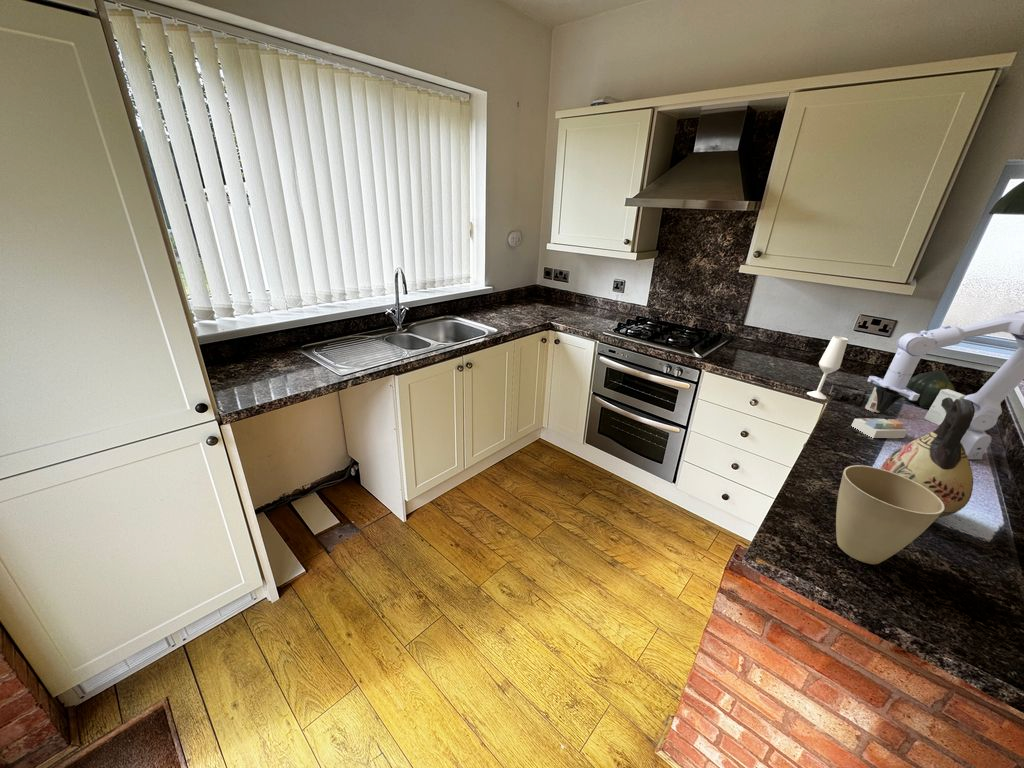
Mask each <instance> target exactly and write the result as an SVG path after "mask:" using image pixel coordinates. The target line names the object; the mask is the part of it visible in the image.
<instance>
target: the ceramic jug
mask: <svg viewBox="0 0 1024 768" xmlns="http://www.w3.org/2000/svg"><path fill="white" fill-rule="evenodd" d="M941 406H942V407H943V408H944V409H945V411H946V416H945V418H944V420H943V422H942V423H941V424H940V425H938V426H937V428H936V429H935V430H932V431H931V432H929V433H927V434H925V435H923V436H920V437H918V438H916V439H914V440H912V441H910V442H908V443H907V444H904V445H902V446H901V447H900V448H898V449H896V450H894V452H893V453H891V454H890V455H889V456H888V457H887V458H886V459H885V460H884V462H883V464H882V465H881V466H880V467H879V469H883V470H887V471H890V472H893V473H895V474H898V475H901V476H903V477H906V478H908V479H910V480H912V481H914V482H916V483H918V484H920V485H922V486H923V487H925V488H927V489H928V490H930V491H931V492H933V493H934V494H935V495H936V496H937V497H938V498H939V499H940V500H941V501H942V502H943V504H944V507H945V509H944V511H943V512H942V513H941V514H940V515H939V516H938V518H942V517H943V518H944V517H947V516H951V515H954V514H956V513H958V512H959V511H962V509H964V508H965V507H966V506H967V505H968V503H969V501H970V500H971V497H972V494H973V488H974V476H973V470H972V467H971V462H970V461H969V460H970V459H968V456H967V455H966V453H965V449H964V447H963V445H962V444H961V442H960V441H961V439H962V437H963V436H964V434H965V433H966V431H967V429H968V428H969V427H970V424H971V422H972V419H973V417H974V413H975V408H974V404H973V402H972V401H969V400H967V399H956V400H955V401H954V402H953V400H952V399H951V398H949V397H948V398H945V399H943V400H942V404H941ZM938 518H937V519H936V520H935V521H934V522H933V523H935V522H936V521H937V520H938Z"/></svg>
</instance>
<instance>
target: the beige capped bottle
mask: <svg viewBox="0 0 1024 768" xmlns="http://www.w3.org/2000/svg"><path fill="white" fill-rule="evenodd" d="M880 387H881V386H879V385H877V384H875V386H874V388H873V390H872V392H871V394H870V396H869V399H868V400H867V403H866V404H865V406H864V409H866V411H868V410H869V411H868V412H870V411H871V412H870V413H874V412H876V414H878V413H879V414H881V412H879V411H877V410H876V409H877V393H876V388H880Z"/></svg>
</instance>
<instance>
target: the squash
mask: <svg viewBox="0 0 1024 768" xmlns="http://www.w3.org/2000/svg"><path fill="white" fill-rule="evenodd" d="M906 388H908V389H910V390H911V391H913V392H915V393H917V394H919V395H920V396H919V398H918V400H910V399H909V398H907V397H903V398H904V399H905V400H906V401H907V402H910V401H911V403H916V404H919V407H920V408H922V409H930V407H931V406H932V404H933V402H934V401H935V399H936V397H937V396H938V394H939V392H940V390H943V389H949V390H952V391H955V392H957V391H956V389H955V386H954V385H953V383H952V382H951V380H950V379H949V377H948V376H947V374H946V373H945V372H944V370H935V371H934V370H933V371H928V372H923V373H919V374H917V375H913V376H911V378H910V380H909V382H908V384H907V386H906Z"/></svg>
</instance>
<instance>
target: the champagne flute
mask: <svg viewBox="0 0 1024 768" xmlns="http://www.w3.org/2000/svg"><path fill="white" fill-rule="evenodd" d="M848 343H849V339H848V338H847V337H843V336H839V335H833V336H832V338H831V339H830V341H829V343H828V345H827V347H826V348H825V351H824V352H823V354H822V356H821V358H820V360H819V362H818V365H819V366H818V367H819V368H820V369H821V371H822V372H823V375H822V377H821V378H820V382H819V384H818V385H817V386H818V387H817V389H816V390H813V391H807V392H806V394H807V395H808V396H809V397H813V398H816V399H819V400H826V399H827V396H826V395H825V394H824V393H822V392H821V390H822V389H823V386H824V383H825V381H826V378H827V376H828V374H831V373H834V372H836V371H838V370H839V369H840V368H841V365H842V362H843V358H844V354H845V352H846V349H847V344H848Z"/></svg>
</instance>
